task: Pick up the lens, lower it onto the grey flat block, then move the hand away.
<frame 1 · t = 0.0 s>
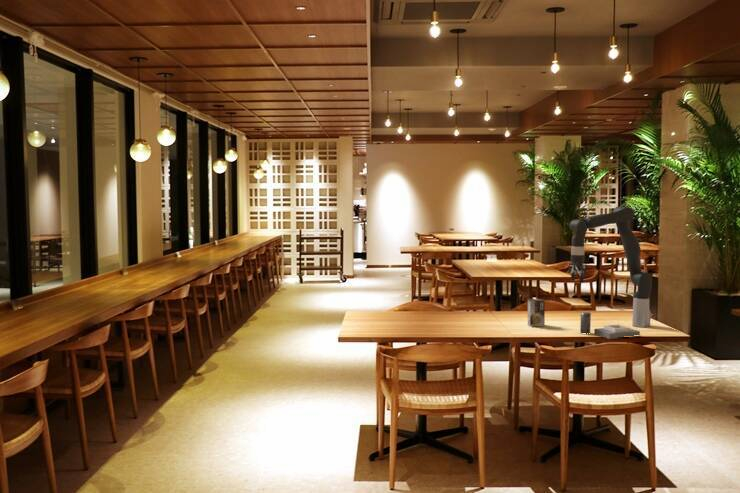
hand: (577, 281, 406), 29 cm above the table, tool pointing down, fingers open, 8 cm apart
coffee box: (535, 326, 424), on the table
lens: (585, 333, 401), on the table
grey flat block: (616, 335, 396), on the table
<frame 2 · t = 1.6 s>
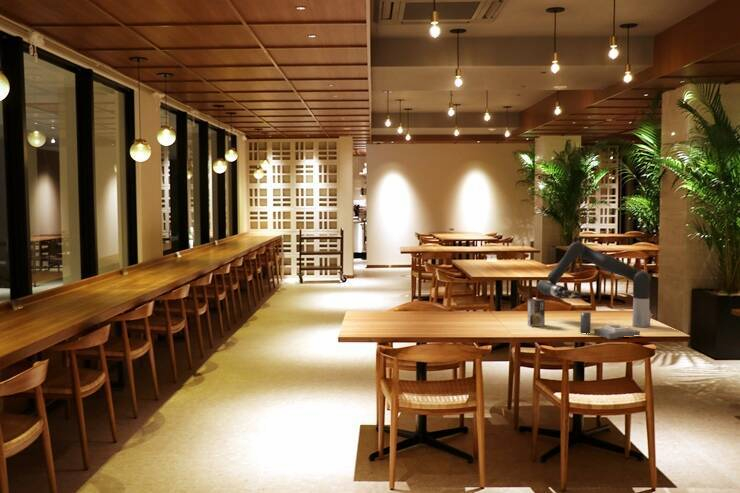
hand: (574, 295, 411), 20 cm above the table, tool horizontal, fingers open, 8 cm apart
nothing on the table moved.
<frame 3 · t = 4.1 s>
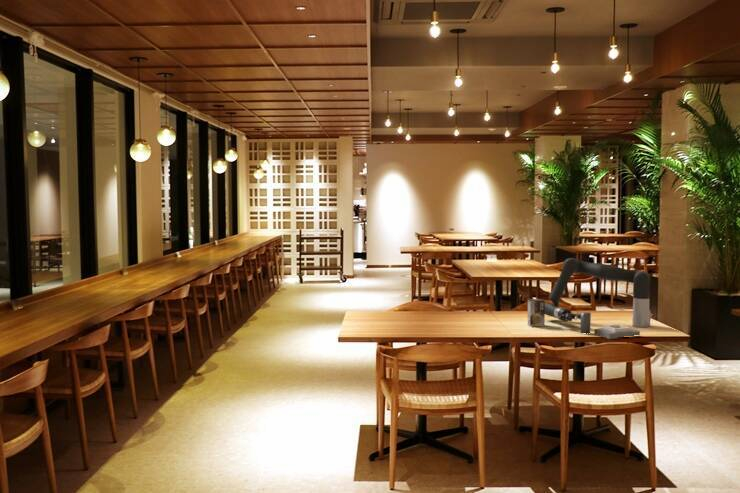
hand: (577, 318, 408), 7 cm above the table, tool horizontal, fingers open, 8 cm apart
nothing on the table moved.
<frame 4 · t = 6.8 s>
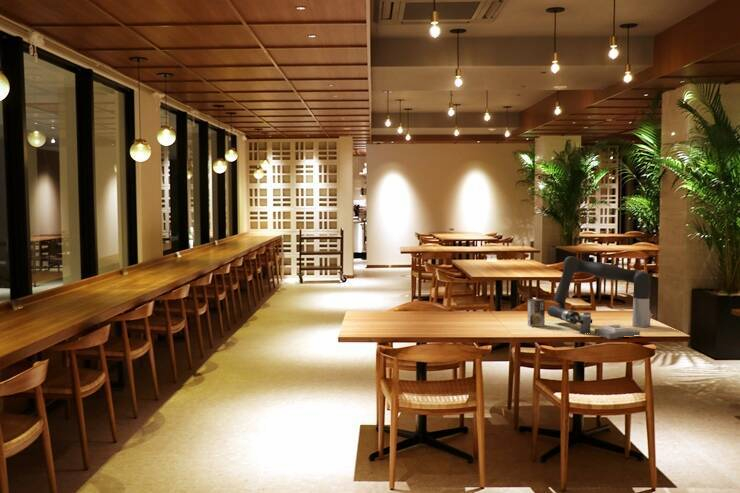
hand: (587, 321, 399), 7 cm above the table, tool horizontal, fingers closed on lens, 5 cm apart
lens: (585, 333, 401), on the table, touching gripper
everything else where it was.
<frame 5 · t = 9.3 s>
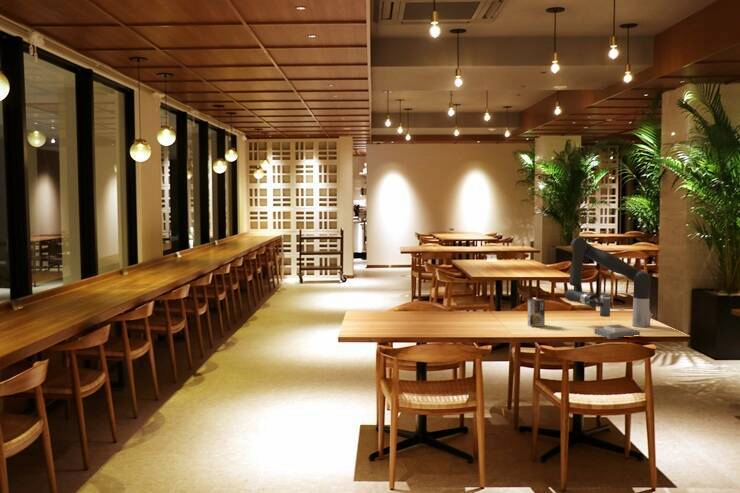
hand: (607, 304, 395), 18 cm above the table, tool horizontal, fingers closed on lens, 5 cm apart
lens: (605, 315, 397), point 11 cm above the table, touching gripper
everything else where it was.
when the fingers open (11 cm above the table, at t = 11.9 s): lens drops 1 cm, resting on grey flat block.
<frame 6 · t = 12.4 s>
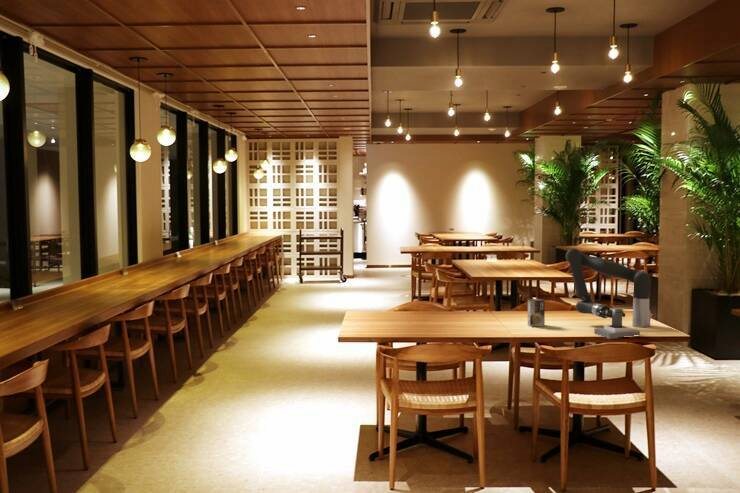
hand: (618, 315, 394), 12 cm above the table, tool horizontal, fingers open, 8 cm apart
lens: (616, 330, 396), point 3 cm above the table, touching grey flat block
everything else where it was.
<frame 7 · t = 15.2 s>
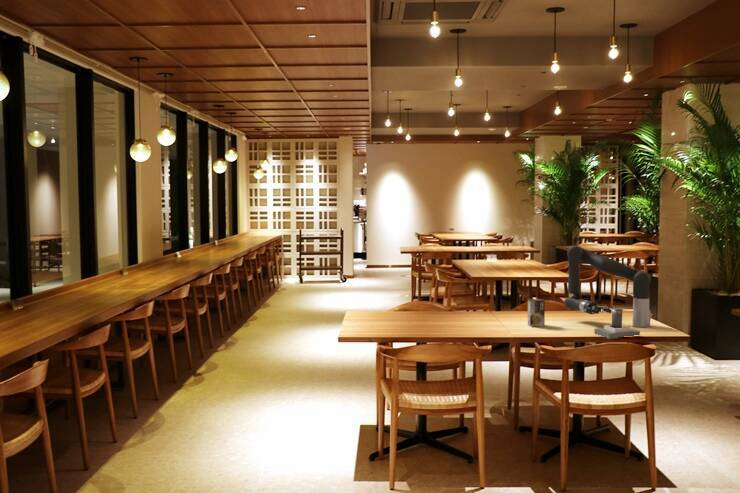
hand: (604, 311, 406), 11 cm above the table, tool horizontal, fingers open, 8 cm apart
nothing on the table moved.
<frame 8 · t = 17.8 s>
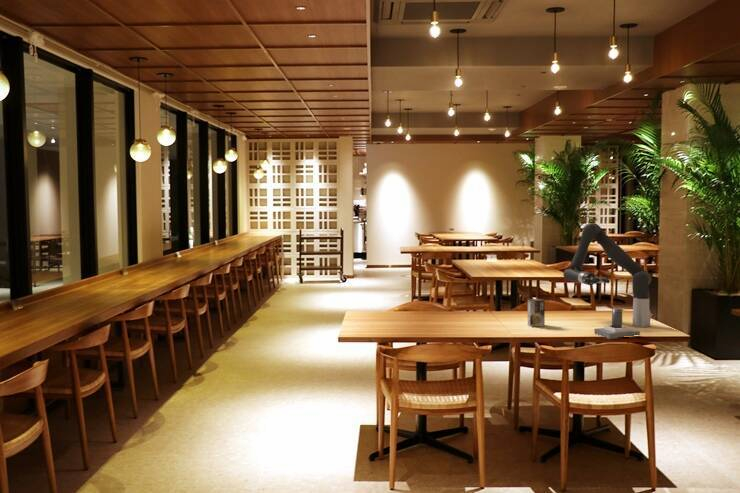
hand: (602, 281, 414), 28 cm above the table, tool horizontal, fingers open, 8 cm apart
nothing on the table moved.
at the end: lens 0.1 cm off-centre on the grey flat block, point 3.0 cm above the grey flat block's base; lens tilted 0°; the gripper is holding nothing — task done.
